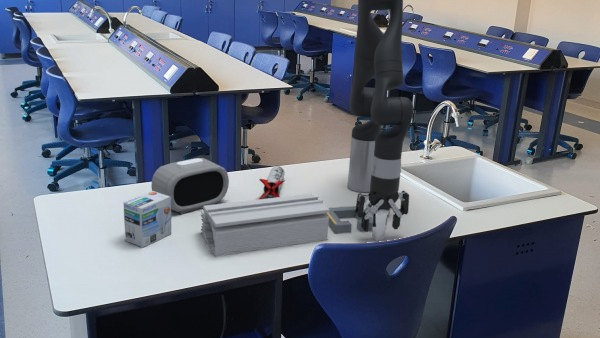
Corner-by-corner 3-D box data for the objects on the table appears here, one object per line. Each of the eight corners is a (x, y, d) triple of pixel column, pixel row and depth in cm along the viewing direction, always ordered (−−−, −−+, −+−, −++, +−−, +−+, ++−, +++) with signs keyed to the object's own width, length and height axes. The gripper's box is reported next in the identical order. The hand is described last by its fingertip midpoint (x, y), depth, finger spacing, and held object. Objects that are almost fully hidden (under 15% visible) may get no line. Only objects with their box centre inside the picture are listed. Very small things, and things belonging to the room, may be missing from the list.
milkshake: (388, 243, 160) (392, 208, 157) (368, 240, 161) (371, 206, 158) (389, 236, 165) (393, 202, 161) (370, 233, 166) (373, 199, 162)
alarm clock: (168, 218, 169) (167, 173, 164) (152, 207, 175) (150, 163, 171) (229, 202, 182) (229, 160, 177) (211, 192, 188) (211, 151, 184)
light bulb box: (143, 248, 151) (141, 208, 148) (124, 241, 154) (121, 202, 151) (172, 233, 160) (172, 196, 156) (154, 227, 163) (153, 190, 159)
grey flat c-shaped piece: (321, 215, 175) (322, 207, 175) (360, 213, 179) (361, 204, 178) (334, 233, 165) (335, 224, 164) (375, 230, 168) (376, 221, 167)
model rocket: (299, 172, 204) (280, 150, 203) (294, 193, 182) (273, 168, 180) (275, 191, 207) (256, 169, 205) (267, 214, 184) (246, 189, 183)
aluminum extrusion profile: (200, 233, 161) (200, 199, 158) (305, 220, 173) (307, 187, 170) (215, 257, 149) (215, 220, 146) (327, 241, 161) (329, 206, 157)
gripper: (404, 166, 162) (398, 222, 167) (355, 169, 158) (350, 225, 164) (417, 176, 155) (410, 233, 161) (365, 179, 151) (360, 237, 157)
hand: (380, 229), depth 162 cm, fingers open, 8 cm apart
